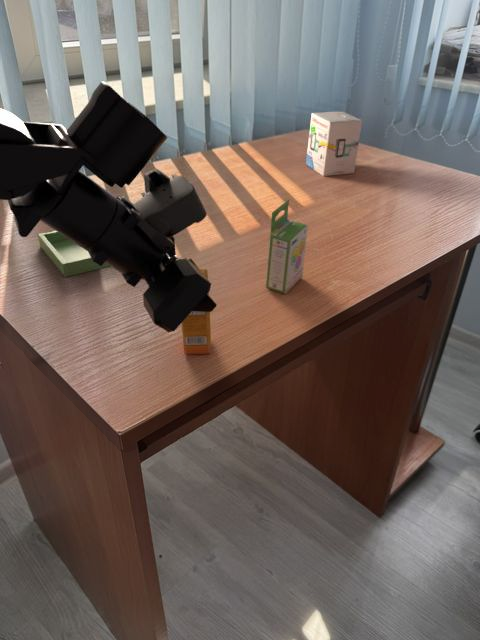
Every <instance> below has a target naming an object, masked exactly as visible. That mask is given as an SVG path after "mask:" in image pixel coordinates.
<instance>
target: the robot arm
mask: <svg viewBox="0 0 480 640" xmlns="http://www.w3.org/2000/svg"><path fill="white" fill-rule="evenodd" d="M91 94H92V95H91V96H90V99H89V101H88V102H87V104H86V105H85V106H84V107H83V109H82V110H81V111H80V113H79V114H78V115H77V116H76V118H75V119H74V121H73V122H72V123H71V124H70V125H69V127H68V128H67V129H66V127H64V125H63V124H59V123H49V122H36V121H35V122H34V121H23V120H21V119H20V118H19V117H18V116H16V115H15V114H14V113H12V112H10V111H8V110H6V109H3V108H0V200H1V201H7V203H8V206H9V209H10V211H11V213H12V214H13V217H14V222H15V225H16V229H17V232H18V235H19V236H20V237H22V238H27V237H28V236H30V234H31V233H32V231H33V230H34V229H35V227H36V226H38V223H40V222H42V223H43V224H44V225H46V226H48V227H49V228H51V229H52V230H53V231H57V232H59V233H60V234H62V235H63V236H65V237H66V238H68V239H69V240H71V241H73V242H74V243H76V244H77V245H79V246H80V247H82V248H83V249H85V250H86V251H88V253H89V255H90V257H91V259H92V261H94V262H95V263H97V264H98V265H100V266H102V265H103V264H104V262H105V263H107V264H108V265H110V266H109V267H110V268H113V269H115V270H116V271H117V272H119V273H120V274H121V275H122V277H123V279H124V281H125V283H127V284H128V285H130V286H132V287H133V288H135V287H136V286H137V285H138V284H139V282H140V281H142V280H143V281H144V282H145V283H146V285H147V286H148V288H147V289H145V291H144V292H143V294H142V297H143V298H142V299H143V301H142V302H143V307H144V308H145V310H146V312H147V314H148V315H149V317H150V319H151V320H152V323H153V324H154V325H155V326H157V327H159V328H160V329H162V330H164V331H166V332H167V333H171V332H175V331H176V330H177V329H178V328H179V326H180V325H182V322H183V321H184V319H185V318H186V317H187V316H188V315H189V314H190V313H191V312H192V311H199V312H210V313H211V312H213V311H214V310H215V309H216V307H217V306H218V305H217V302H215V301H214V299H213V298H212V297H211V296H210V294H209V295H208V294H207V293H208V292H209V293H210V292H211V287H212V282H211V281H210V280H209V278H208V279H207V278H206V277H205V275H204V274H203V273H202V272H201V271H200V270H199V269H200V268H199V267H198V265H197V264H196V262H195V261H194V260H193V259H192V258H191V257H190V258H186V257H182V258H180V257H178V256H177V254H176V253H177V252H176V241H175V240H176V239H175V237H174V236H176V235H177V234H179V233H180V232H183V231H184V230H185V229H187V228H189V227H191V226H192V225H194V224H195V223H196V224H198V223H200V222H202V221H203V220H205V218H206V217H207V214H208V212H207V210H206V208H205V206H204V204H203V203H202V200H201V198H200V197H199V194H198V192H197V190H196V189H195V186H194V185H193V184H191V182H190V181H189V180H187V178H186V177H185V176H183V175H177V174H176V173H172V174H171V175H170V176H171V177H169V175H167V174H165V173H164V172H162V171H161V170H159V169H158V168H156V167H155V168H153V169H152V170H150V171H148V172H147V173H145V174H144V175H143V176H144V177H143V178H144V191H142V192H141V193H140V194H141V198H140V199H138V200H137V201H135V202H134V203H133V202H132V201H131V200H129V199H128V198H127V197H125V196H122V197H120V196H119V195H117V196H114V195H113V194H111V192H109V191H108V190H106V189H105V188H104V187H102V186H101V185H100V184H98V183H97V182H96V181H95V180H93V179H92V178H91V177H89V176H88V175H87V174H86V173H84V172H83V171H82V170H81V169H82V168H83V167H84V168H85V169H87V170H88V171H89V172H91V173H92V175H95V177H97V178H98V179H99V180H101V181H102V182H103V183H105V184H106V185H108V186H109V187H111V188H113V187H114V186H115V185H116V186H118V187H119V188H121V189H123V188H124V186H125V185H127V186H130V185H131V184H132V183H133V182H134V180H135V179H136V178H137V176H138V175H140V173H141V171H142V170H143V169H144V168H145V166H147V164H148V163H149V162H150V160H152V158H153V157H154V156H155V154H156V153H157V152H158V151H159V149H160V148H161V147H162V146H163V145H164V143H166V141H167V140H168V136H167V135H166V134H165V133H164V132H163V131H162V130H161V129H160V128H159V127H158V126H157V125H156V124H155V123H154V122H153V121H152V120H150V118H149V117H148V116H147V115H146V114H144V113H143V112H142V111H140V110H139V109H138V108H137V107H135V106H134V104H132V103H130V102H129V101H127V100H125V98H123V96H121V95H120V94H119V93H118V92H117V91H116V90H115V89H114V88H113V87H112V86H111V85H109V83H107V82H106V81H100V83H99V84H98V86H96V88H95V89H94V91H93V92H92V93H91Z"/></svg>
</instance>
